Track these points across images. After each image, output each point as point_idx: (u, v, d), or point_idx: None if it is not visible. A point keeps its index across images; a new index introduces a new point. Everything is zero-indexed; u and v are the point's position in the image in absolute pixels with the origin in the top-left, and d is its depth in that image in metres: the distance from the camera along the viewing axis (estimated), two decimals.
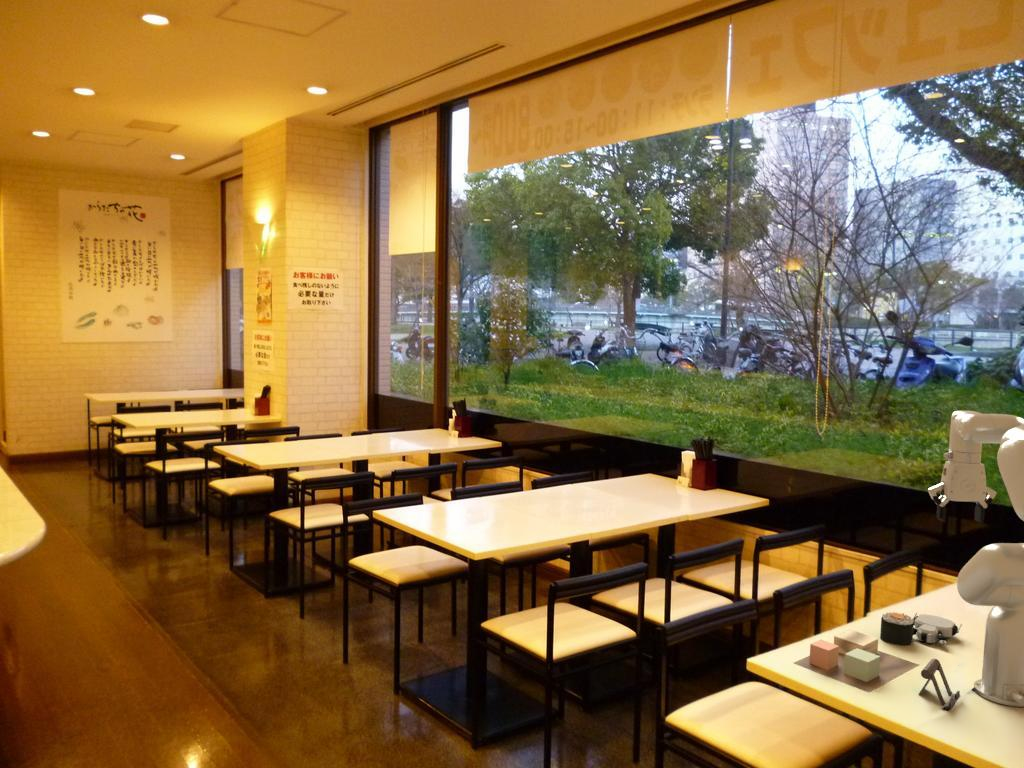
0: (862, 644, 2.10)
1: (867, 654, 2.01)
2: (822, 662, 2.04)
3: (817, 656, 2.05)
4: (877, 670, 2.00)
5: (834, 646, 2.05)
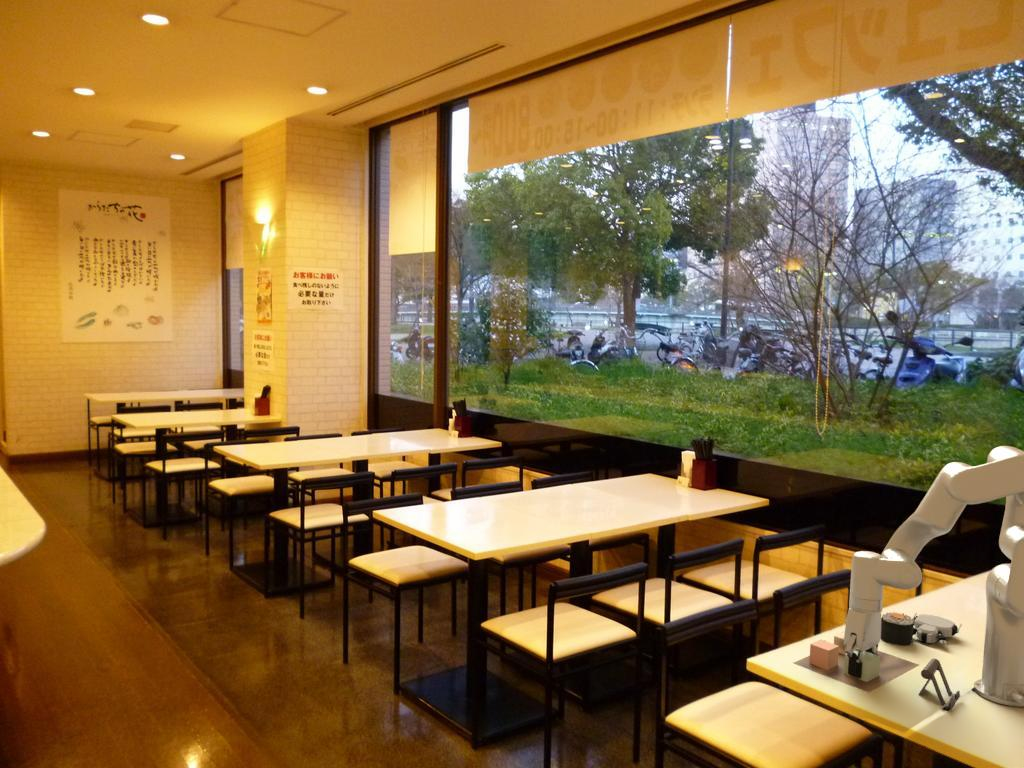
0: None
1: (867, 654, 2.01)
2: (822, 662, 2.04)
3: (817, 656, 2.05)
4: (877, 670, 2.00)
5: (834, 646, 2.05)
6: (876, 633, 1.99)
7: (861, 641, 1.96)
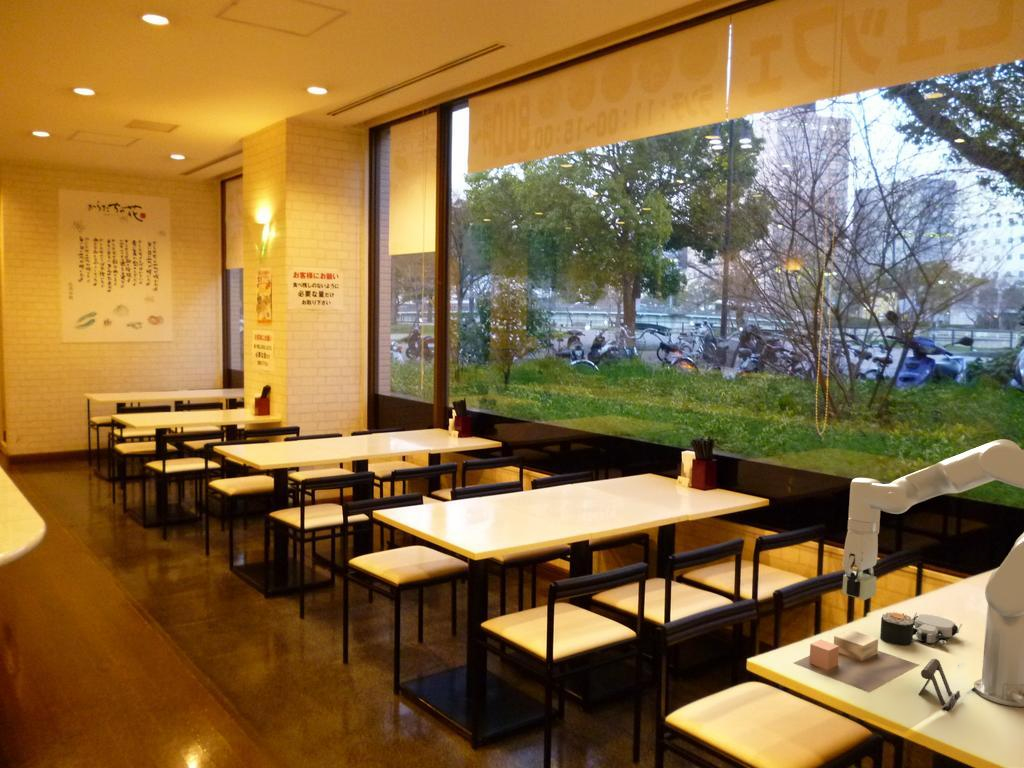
0: (862, 644, 2.10)
1: (864, 575, 2.13)
2: (822, 662, 2.04)
3: (817, 656, 2.05)
4: (874, 590, 2.11)
5: (834, 646, 2.05)
6: (873, 554, 2.10)
7: (859, 561, 2.07)
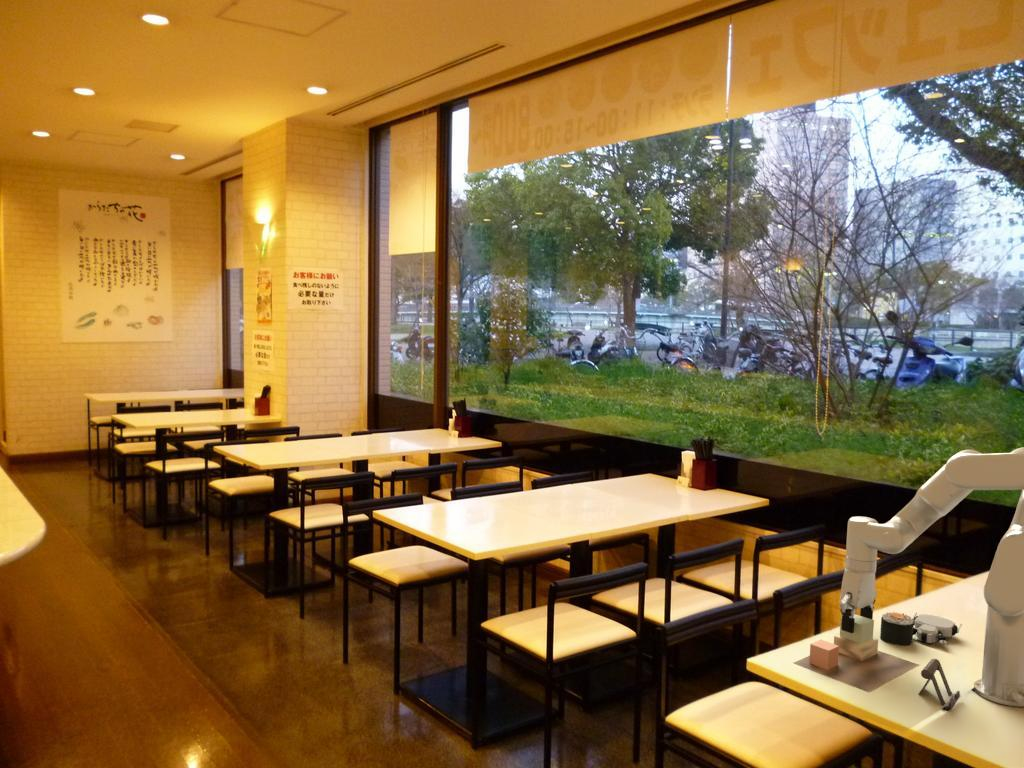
0: (862, 644, 2.10)
1: (862, 618, 2.15)
2: (822, 662, 2.04)
3: (817, 656, 2.05)
4: (871, 633, 2.13)
5: (834, 646, 2.05)
6: (870, 593, 2.12)
7: (856, 600, 2.09)
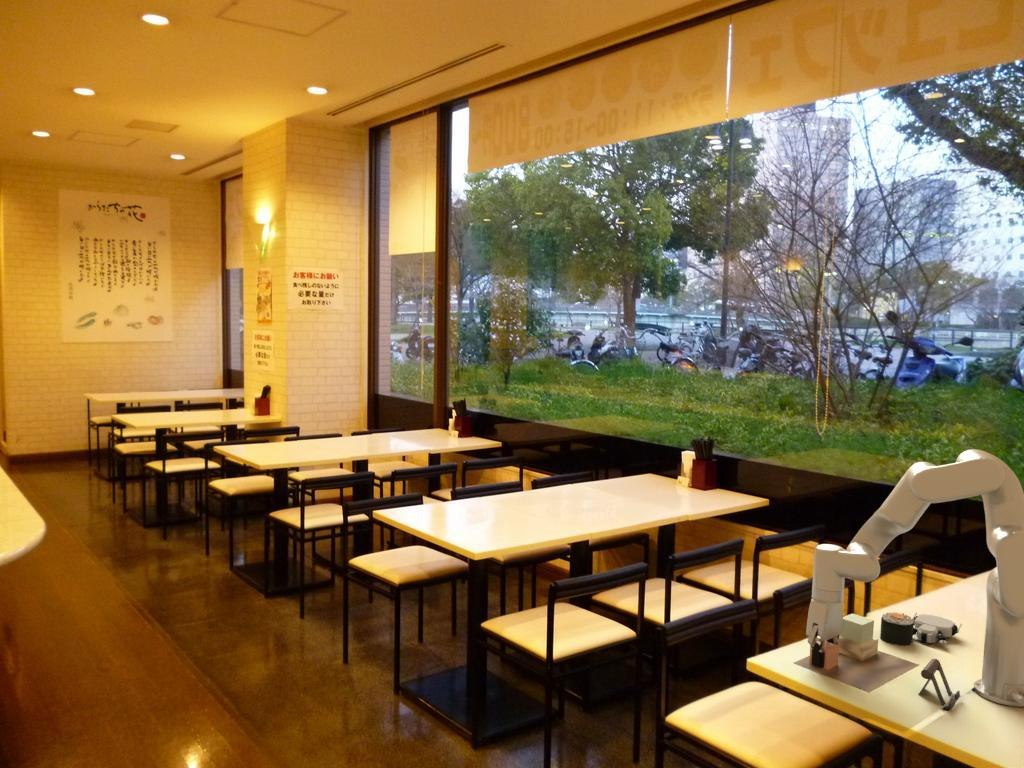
0: (862, 644, 2.10)
1: (862, 618, 2.15)
2: None
3: None
4: (871, 633, 2.13)
5: (834, 646, 2.05)
6: (838, 623, 2.05)
7: (822, 631, 2.01)
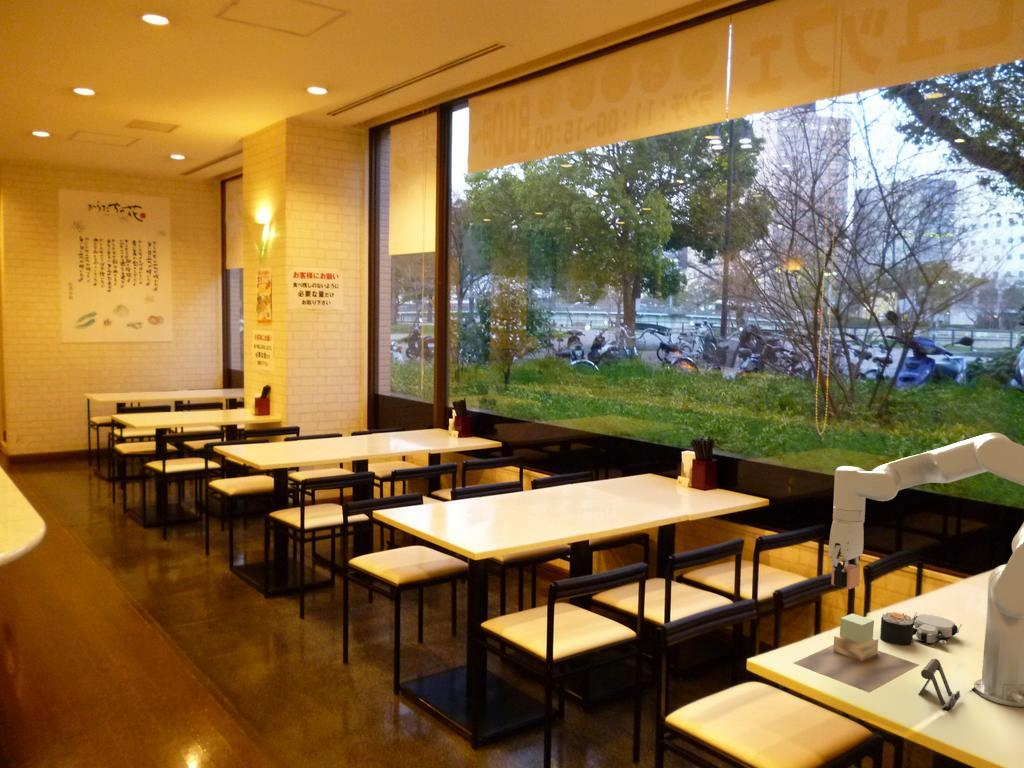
0: (862, 644, 2.10)
1: (862, 618, 2.15)
2: None
3: None
4: (871, 633, 2.13)
5: (855, 566, 2.08)
6: (859, 544, 2.07)
7: (845, 550, 2.04)
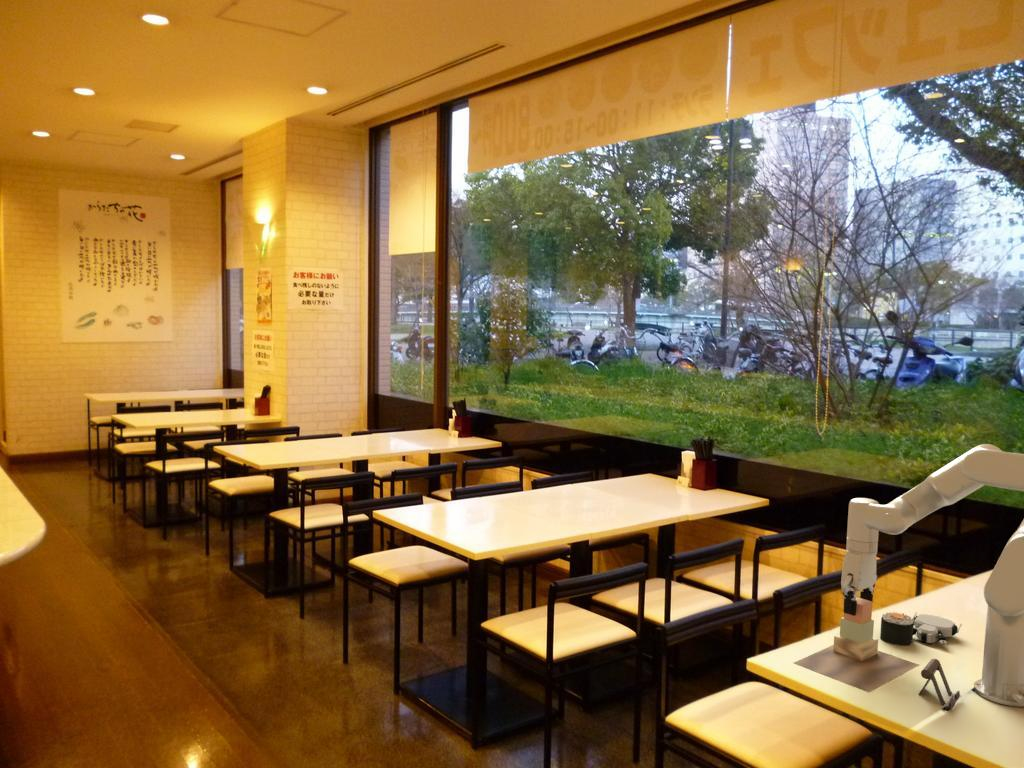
0: (862, 644, 2.10)
1: None
2: (857, 617, 2.11)
3: None
4: (871, 633, 2.13)
5: (868, 602, 2.13)
6: (871, 574, 2.12)
7: (857, 581, 2.08)
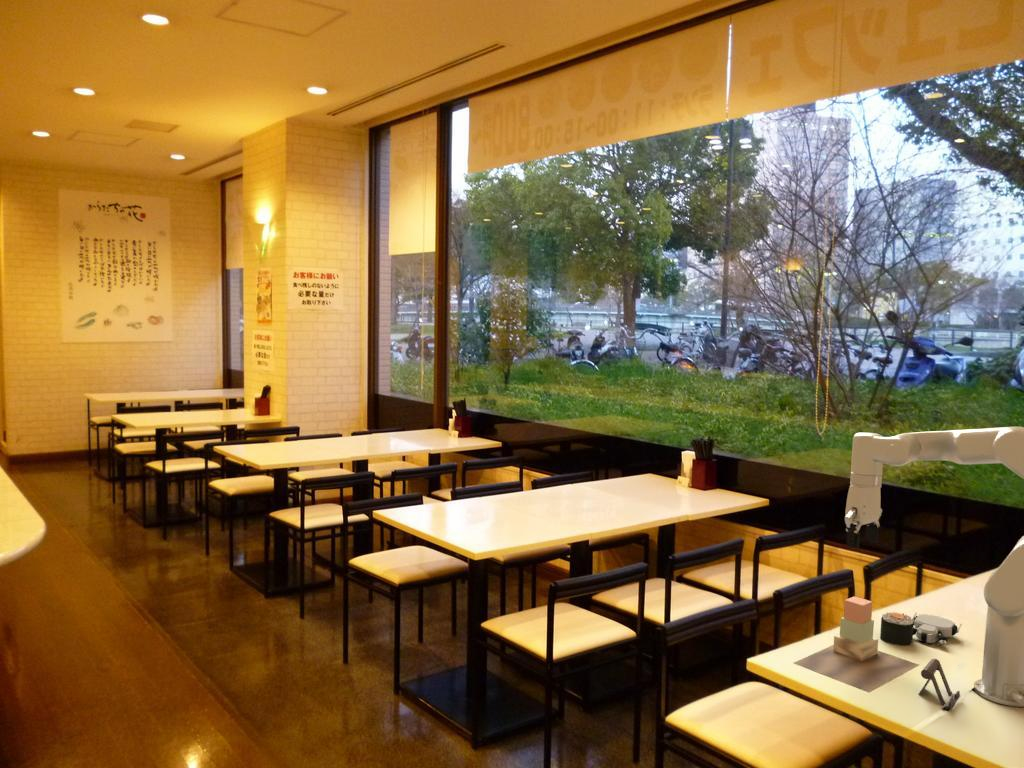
0: (862, 644, 2.10)
1: None
2: (857, 617, 2.11)
3: (851, 611, 2.12)
4: (871, 633, 2.13)
5: (868, 602, 2.13)
6: (876, 509, 2.10)
7: (861, 514, 2.07)
